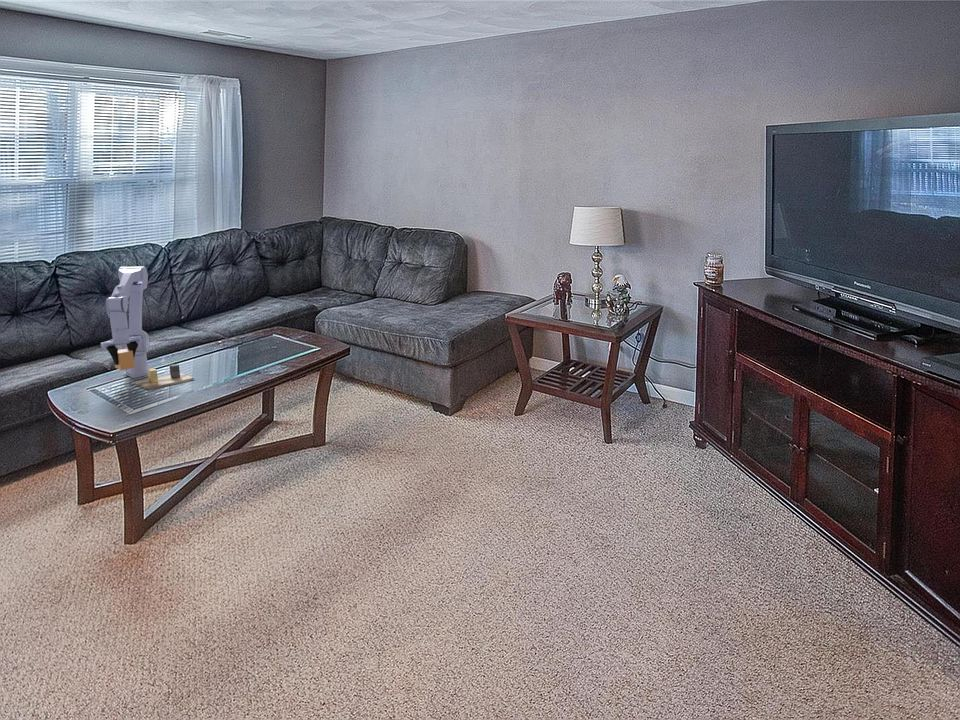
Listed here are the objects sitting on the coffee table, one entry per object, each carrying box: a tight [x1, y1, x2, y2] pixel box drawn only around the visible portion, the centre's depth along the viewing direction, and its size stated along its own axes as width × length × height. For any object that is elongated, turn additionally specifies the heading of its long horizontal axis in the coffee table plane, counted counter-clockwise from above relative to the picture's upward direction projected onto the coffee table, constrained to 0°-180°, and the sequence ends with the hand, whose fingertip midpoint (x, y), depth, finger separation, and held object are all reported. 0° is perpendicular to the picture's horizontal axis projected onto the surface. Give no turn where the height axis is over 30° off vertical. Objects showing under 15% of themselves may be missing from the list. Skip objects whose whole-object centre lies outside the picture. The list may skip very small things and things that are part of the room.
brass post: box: [147, 368, 159, 384], centre depth 286 cm, size 3×3×5 cm
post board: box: [134, 363, 195, 391], centre depth 289 cm, size 12×18×6 cm, turn 139°
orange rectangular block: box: [114, 349, 135, 371], centre depth 282 cm, size 5×5×7 cm
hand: (124, 362), depth 283 cm, fingers closed on orange rectangular block, 5 cm apart
